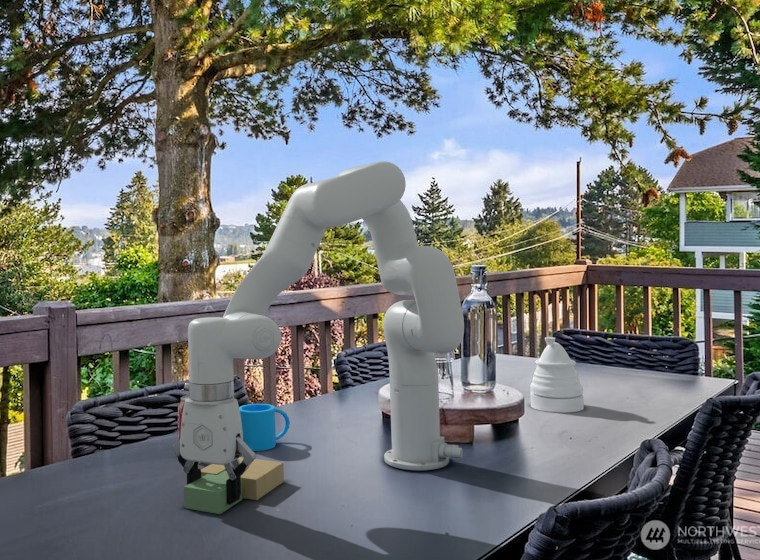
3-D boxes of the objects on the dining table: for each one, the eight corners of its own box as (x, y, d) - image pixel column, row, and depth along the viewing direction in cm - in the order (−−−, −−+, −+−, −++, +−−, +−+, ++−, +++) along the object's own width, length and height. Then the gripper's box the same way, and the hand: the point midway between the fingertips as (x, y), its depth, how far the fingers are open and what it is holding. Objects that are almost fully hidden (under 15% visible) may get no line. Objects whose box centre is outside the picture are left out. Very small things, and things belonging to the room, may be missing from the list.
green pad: (250, 494, 116) (249, 474, 116) (220, 514, 107) (219, 492, 107) (216, 489, 119) (215, 469, 119) (184, 508, 110) (183, 486, 110)
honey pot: (567, 415, 164) (563, 341, 165) (520, 406, 174) (518, 337, 175) (593, 406, 172) (590, 336, 173) (547, 399, 182) (545, 332, 183)
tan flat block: (284, 481, 122) (283, 462, 122) (256, 500, 113) (256, 479, 113) (228, 473, 127) (227, 455, 127) (197, 491, 118) (197, 471, 118)
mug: (246, 453, 140) (246, 414, 140) (232, 443, 147) (232, 406, 147) (298, 444, 145) (297, 406, 145) (282, 435, 152) (281, 399, 153)
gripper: (156, 392, 113) (158, 498, 112) (244, 399, 105) (247, 514, 105) (182, 384, 120) (184, 484, 119) (267, 390, 112) (270, 497, 111)
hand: (213, 497), depth 112 cm, fingers closed on green pad, 7 cm apart
